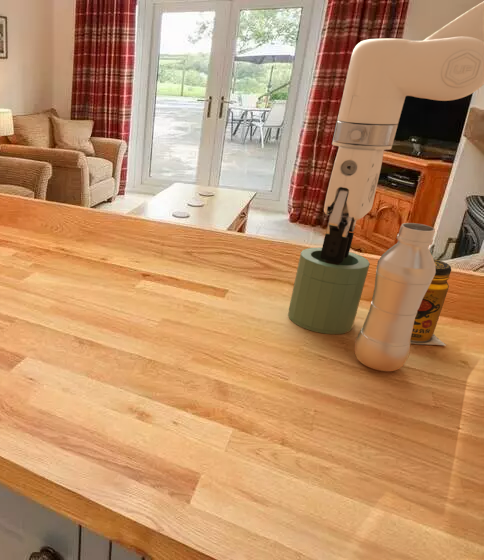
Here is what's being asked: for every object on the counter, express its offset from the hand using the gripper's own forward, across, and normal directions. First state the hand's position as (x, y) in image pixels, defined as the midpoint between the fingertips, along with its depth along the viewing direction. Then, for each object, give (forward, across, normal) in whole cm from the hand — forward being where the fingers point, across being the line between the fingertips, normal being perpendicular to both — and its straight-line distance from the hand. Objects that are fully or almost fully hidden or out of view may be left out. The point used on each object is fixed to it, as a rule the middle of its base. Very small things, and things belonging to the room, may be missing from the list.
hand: (334, 256), depth 77 cm
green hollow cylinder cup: (+11, 0, 0) cm, 11 cm away
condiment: (+11, +5, -12) cm, 17 cm away
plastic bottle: (+11, -9, -10) cm, 18 cm away
